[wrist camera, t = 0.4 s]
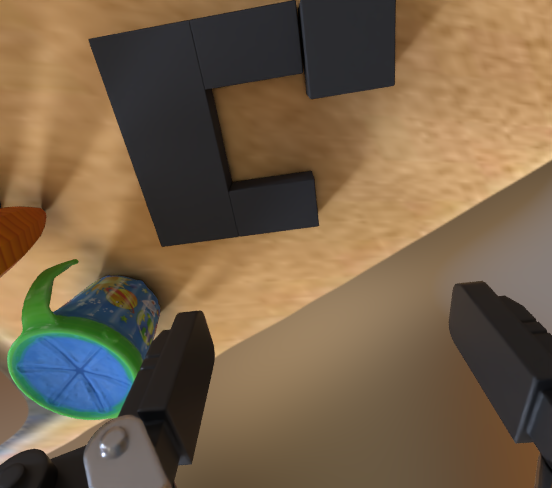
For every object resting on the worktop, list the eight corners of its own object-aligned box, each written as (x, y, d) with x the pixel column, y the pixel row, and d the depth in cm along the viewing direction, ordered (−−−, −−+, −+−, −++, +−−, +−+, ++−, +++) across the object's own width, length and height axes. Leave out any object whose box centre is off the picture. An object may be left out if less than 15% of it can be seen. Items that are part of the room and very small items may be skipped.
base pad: (105, 41, 25) (87, 39, 23) (294, 5, 24) (295, -1, 21) (169, 234, 32) (161, 247, 30) (316, 214, 31) (319, 226, 29)
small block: (297, 8, 24) (300, -2, 20) (378, -7, 23) (396, -20, 20) (306, 94, 26) (310, 99, 23) (379, 82, 26) (395, 85, 22)
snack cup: (43, 246, 33) (-46, 314, 24) (144, 227, 32) (89, 291, 23) (111, 359, 40) (62, 444, 31) (196, 347, 39) (170, 431, 30)
